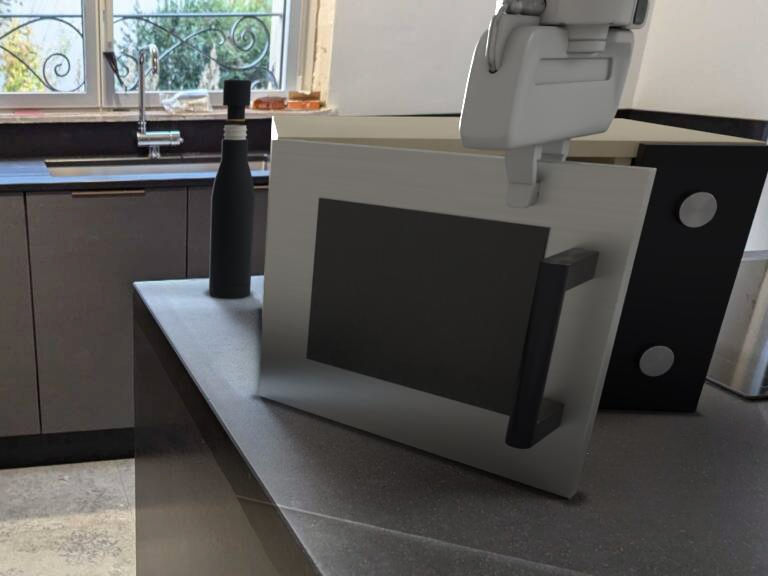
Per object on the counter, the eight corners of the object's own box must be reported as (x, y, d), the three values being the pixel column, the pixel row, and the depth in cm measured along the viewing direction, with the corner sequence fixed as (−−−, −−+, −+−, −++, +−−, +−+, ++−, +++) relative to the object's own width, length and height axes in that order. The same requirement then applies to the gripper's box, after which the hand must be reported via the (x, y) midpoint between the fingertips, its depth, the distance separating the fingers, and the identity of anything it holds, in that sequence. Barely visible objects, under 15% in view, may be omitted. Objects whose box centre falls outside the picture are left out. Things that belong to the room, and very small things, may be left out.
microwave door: (537, 528, 63) (616, 178, 52) (218, 412, 84) (226, 144, 73) (577, 492, 68) (657, 167, 57) (267, 391, 89) (282, 138, 78)
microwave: (699, 416, 83) (782, 144, 72) (262, 399, 87) (277, 138, 76) (577, 318, 115) (622, 118, 104) (262, 309, 119) (272, 115, 108)
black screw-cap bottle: (200, 294, 126) (205, 80, 113) (222, 285, 131) (229, 79, 118) (236, 300, 123) (245, 81, 110) (257, 291, 128) (268, 80, 115)
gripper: (551, -11, 49) (511, 228, 55) (658, 2, 62) (617, 193, 68) (451, -5, 53) (424, 217, 59) (572, 6, 66) (540, 186, 72)
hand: (528, 204), depth 63 cm, fingers closed on microwave door, 2 cm apart
